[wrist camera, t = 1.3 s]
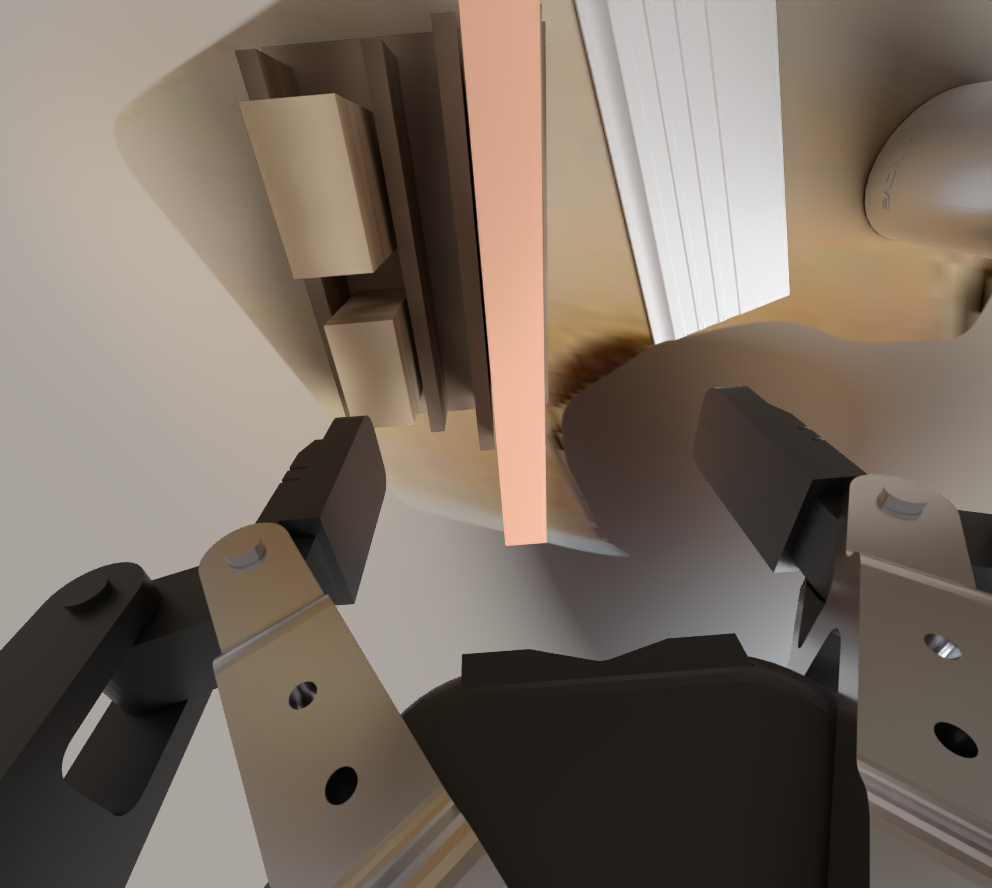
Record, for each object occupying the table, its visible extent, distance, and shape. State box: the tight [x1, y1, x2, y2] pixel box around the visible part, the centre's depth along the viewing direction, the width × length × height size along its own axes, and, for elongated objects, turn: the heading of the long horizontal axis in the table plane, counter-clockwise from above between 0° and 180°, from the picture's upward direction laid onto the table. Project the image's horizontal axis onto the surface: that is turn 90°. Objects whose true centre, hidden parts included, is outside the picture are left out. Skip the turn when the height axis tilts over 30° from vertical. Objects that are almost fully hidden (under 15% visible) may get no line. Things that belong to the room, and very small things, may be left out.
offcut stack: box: [238, 93, 423, 428], centre depth 27 cm, size 4×17×10 cm, turn 4°
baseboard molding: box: [574, 0, 790, 345], centre depth 27 cm, size 31×3×12 cm
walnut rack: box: [235, 4, 548, 450], centre depth 28 cm, size 16×24×10 cm, turn 4°
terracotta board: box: [459, 0, 547, 546], centre depth 23 cm, size 2×20×18 cm, turn 4°
